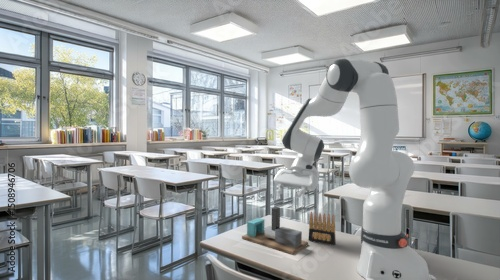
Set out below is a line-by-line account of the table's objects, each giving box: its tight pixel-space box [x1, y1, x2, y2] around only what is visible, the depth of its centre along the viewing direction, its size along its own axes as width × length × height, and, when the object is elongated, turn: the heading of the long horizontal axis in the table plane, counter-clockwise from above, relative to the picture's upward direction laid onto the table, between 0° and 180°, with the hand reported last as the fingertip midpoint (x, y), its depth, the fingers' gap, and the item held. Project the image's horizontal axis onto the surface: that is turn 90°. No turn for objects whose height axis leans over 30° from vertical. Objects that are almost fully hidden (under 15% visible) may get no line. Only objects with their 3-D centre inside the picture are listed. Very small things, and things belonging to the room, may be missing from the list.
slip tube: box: [264, 206, 281, 239], centre depth 117 cm, size 14×3×12 cm, turn 50°
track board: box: [241, 226, 309, 255], centre depth 120 cm, size 24×12×6 cm, turn 50°
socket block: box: [246, 217, 265, 237], centre depth 126 cm, size 4×7×6 cm, turn 141°
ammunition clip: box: [308, 211, 337, 246], centre depth 119 cm, size 11×2×12 cm, turn 64°
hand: (288, 194), depth 126 cm, fingers open, 8 cm apart
